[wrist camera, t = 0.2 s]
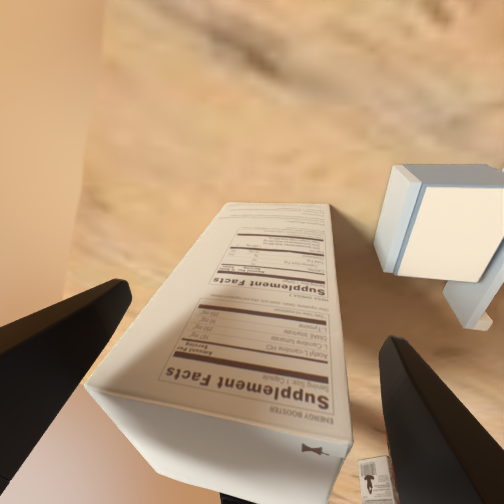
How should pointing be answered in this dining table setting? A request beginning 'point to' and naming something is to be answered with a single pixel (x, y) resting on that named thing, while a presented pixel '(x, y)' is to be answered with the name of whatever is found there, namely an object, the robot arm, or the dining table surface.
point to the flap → (476, 294)
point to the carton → (441, 221)
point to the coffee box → (377, 481)
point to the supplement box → (240, 361)
